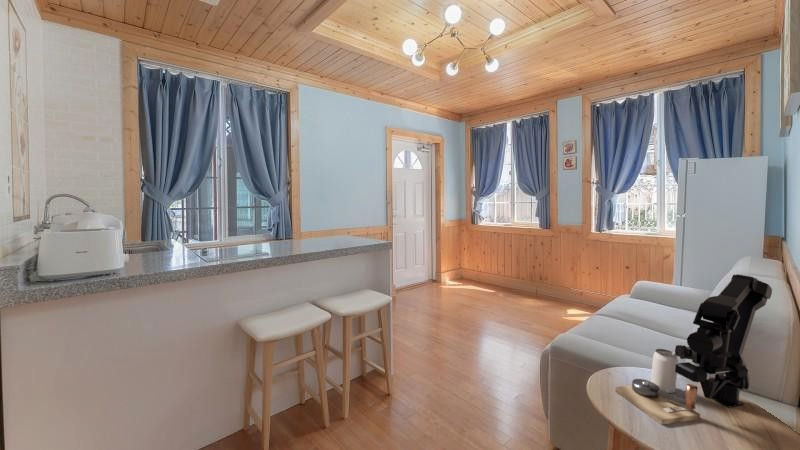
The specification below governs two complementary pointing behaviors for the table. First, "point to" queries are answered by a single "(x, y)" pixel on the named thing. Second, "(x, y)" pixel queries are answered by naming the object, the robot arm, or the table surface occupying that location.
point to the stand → (658, 407)
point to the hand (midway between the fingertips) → (707, 397)
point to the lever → (654, 391)
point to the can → (664, 370)
